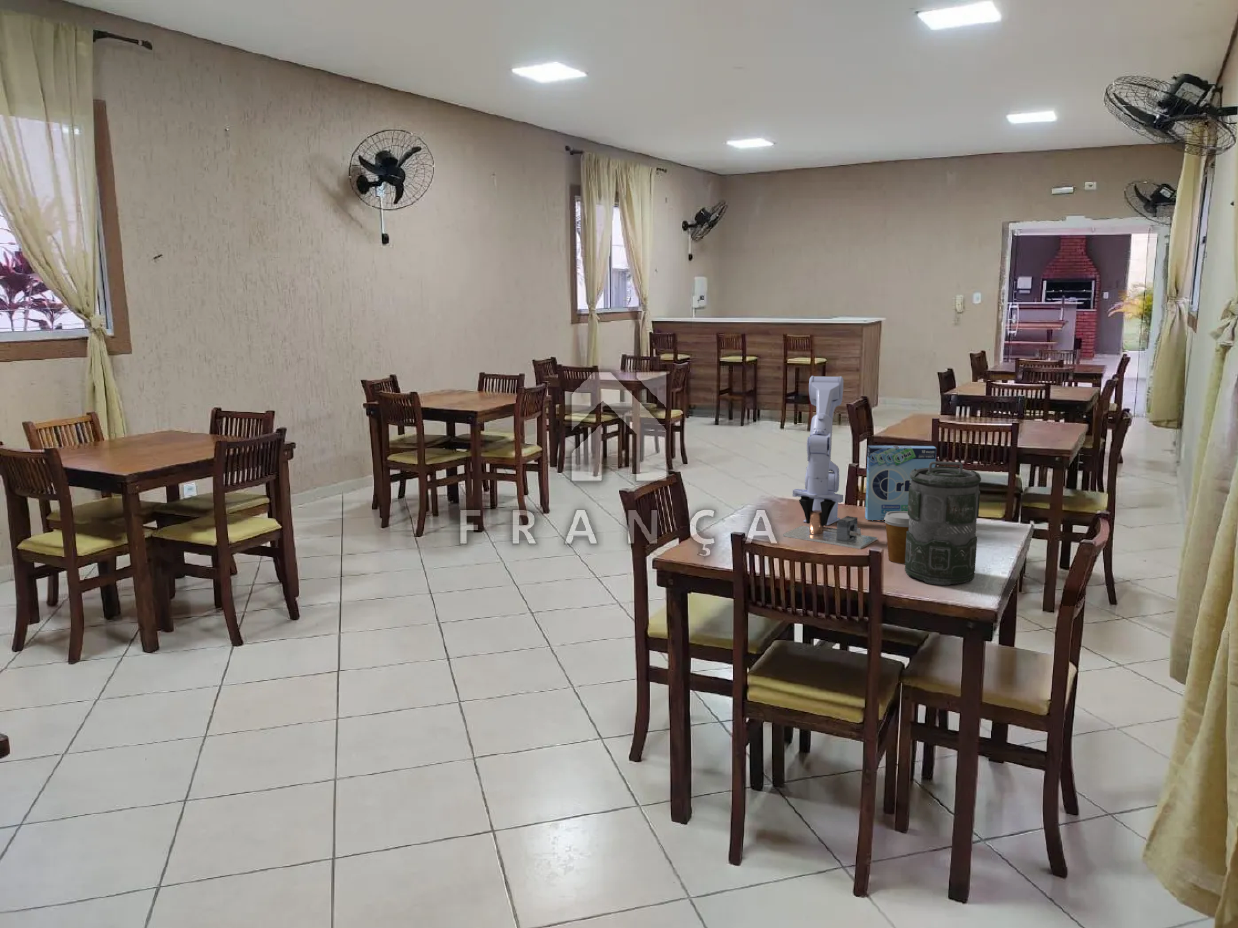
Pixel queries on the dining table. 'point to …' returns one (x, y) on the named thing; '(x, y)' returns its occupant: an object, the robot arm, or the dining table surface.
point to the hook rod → (817, 528)
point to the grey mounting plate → (835, 534)
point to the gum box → (892, 476)
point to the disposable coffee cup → (897, 535)
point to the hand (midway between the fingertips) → (816, 523)
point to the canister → (942, 524)
